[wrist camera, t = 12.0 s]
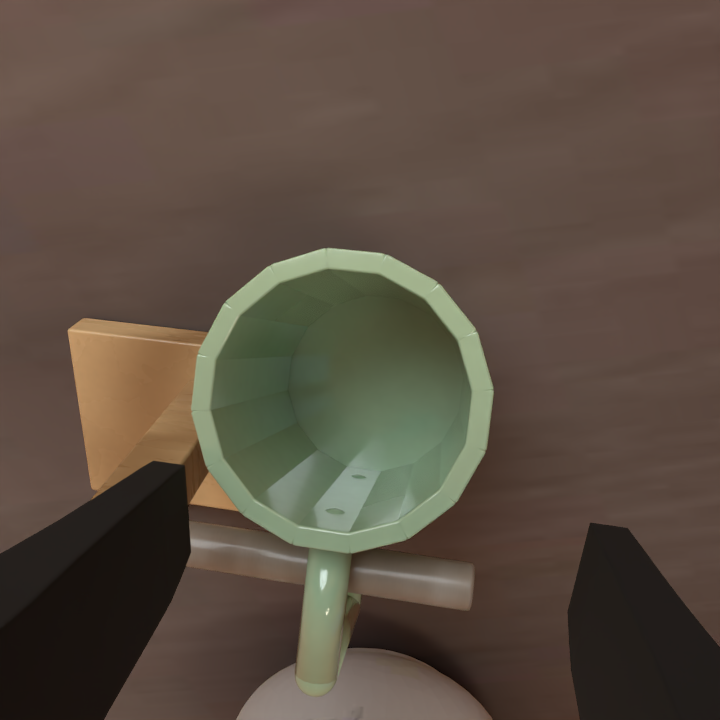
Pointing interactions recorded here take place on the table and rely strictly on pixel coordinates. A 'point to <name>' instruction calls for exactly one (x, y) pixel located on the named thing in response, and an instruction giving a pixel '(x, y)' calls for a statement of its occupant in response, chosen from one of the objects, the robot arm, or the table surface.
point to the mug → (340, 419)
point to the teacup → (367, 693)
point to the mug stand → (181, 446)
